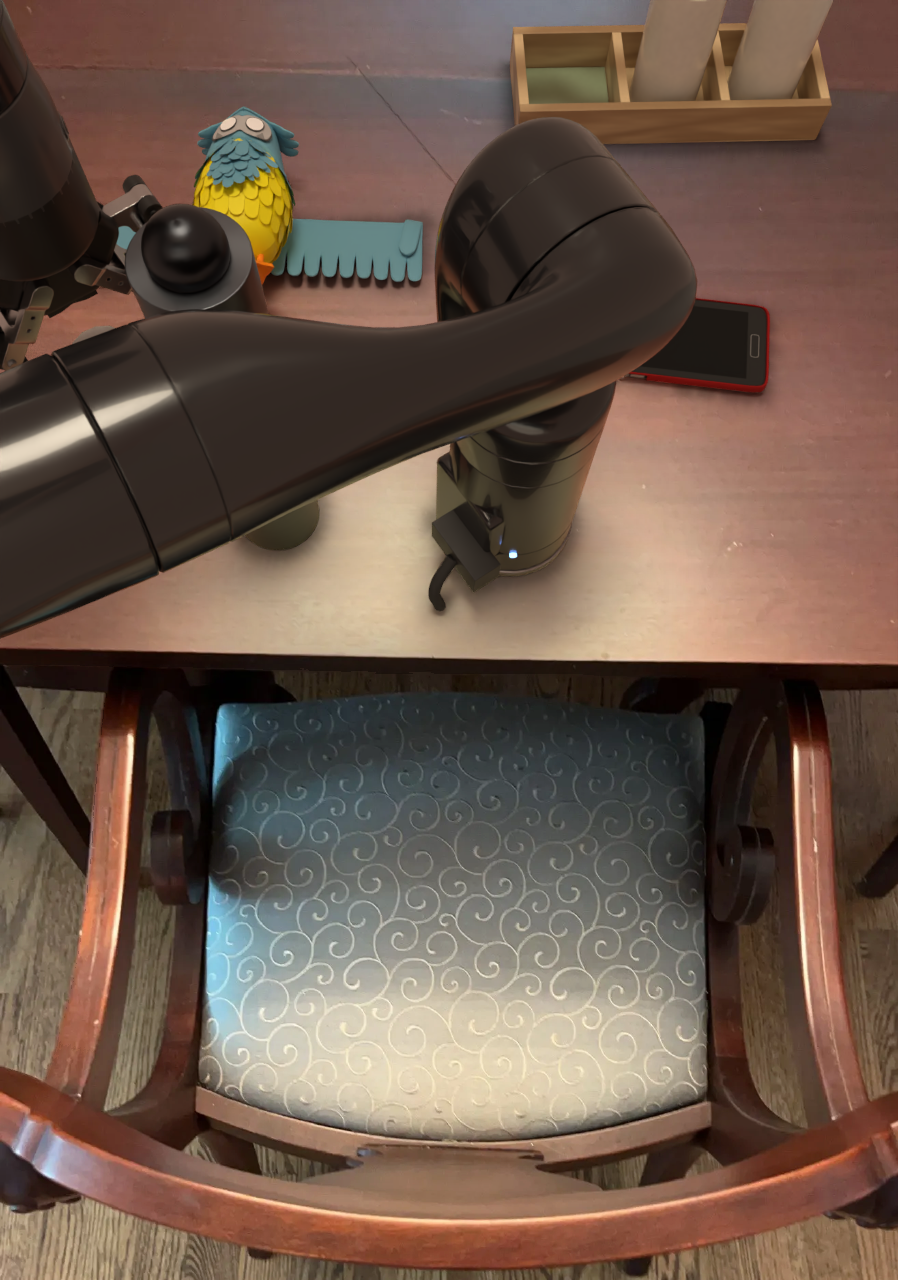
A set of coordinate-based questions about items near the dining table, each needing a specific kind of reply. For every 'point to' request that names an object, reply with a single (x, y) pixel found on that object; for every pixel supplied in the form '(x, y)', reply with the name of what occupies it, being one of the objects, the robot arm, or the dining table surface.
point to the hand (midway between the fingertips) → (99, 356)
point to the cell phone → (715, 349)
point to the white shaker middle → (675, 49)
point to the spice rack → (599, 100)
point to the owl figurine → (289, 209)
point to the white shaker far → (776, 48)
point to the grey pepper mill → (206, 300)
